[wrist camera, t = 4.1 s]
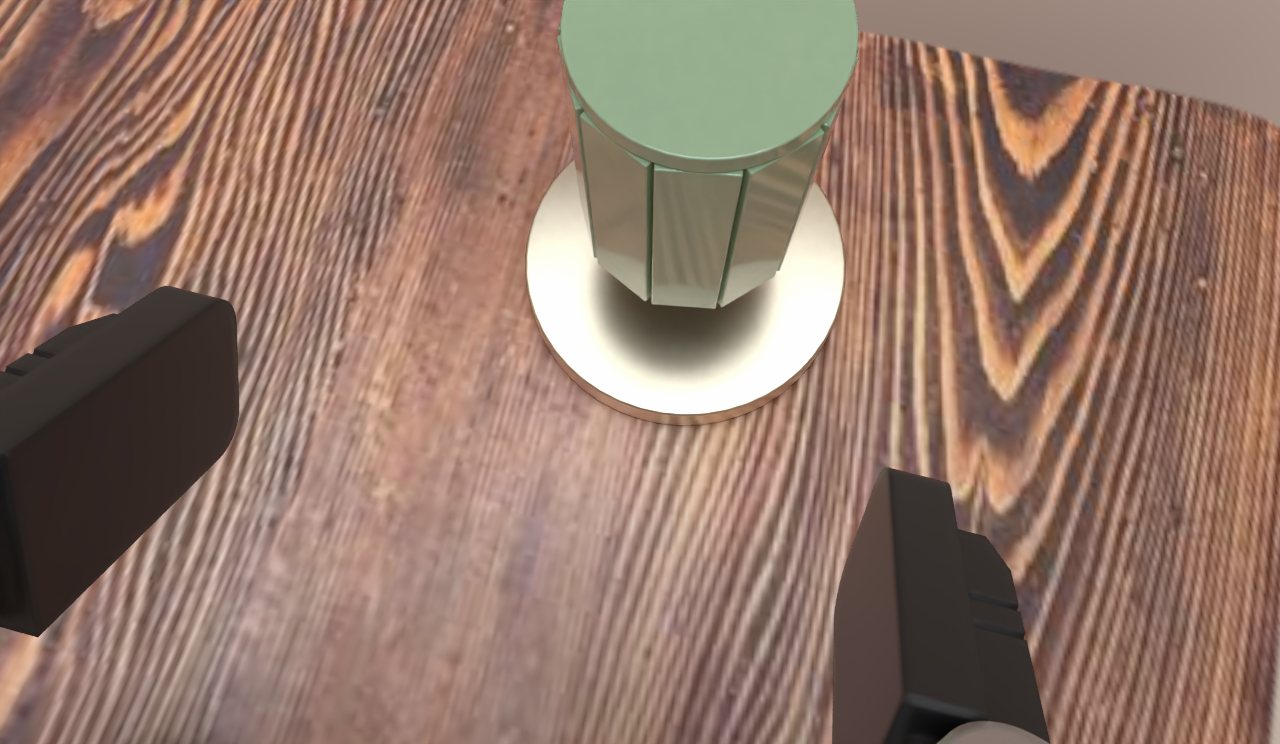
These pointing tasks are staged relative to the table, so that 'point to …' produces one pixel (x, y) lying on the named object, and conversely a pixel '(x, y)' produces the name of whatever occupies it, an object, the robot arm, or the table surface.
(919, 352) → the table surface
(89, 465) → the robot arm
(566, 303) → the towel holder
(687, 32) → the green grooved cylinder
